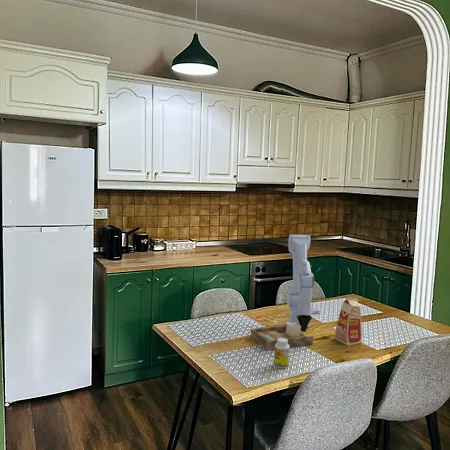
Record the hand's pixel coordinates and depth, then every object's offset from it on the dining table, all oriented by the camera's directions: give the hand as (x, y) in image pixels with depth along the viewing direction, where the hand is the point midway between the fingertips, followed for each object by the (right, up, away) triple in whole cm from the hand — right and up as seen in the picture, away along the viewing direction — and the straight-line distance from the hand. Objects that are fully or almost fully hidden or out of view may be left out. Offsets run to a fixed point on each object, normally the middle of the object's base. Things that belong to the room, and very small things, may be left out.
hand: (303, 331), depth 196 cm
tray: (-10, -3, -4) cm, 11 cm away
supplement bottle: (-14, -6, -30) cm, 33 cm away
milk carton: (+20, -4, -1) cm, 20 cm away
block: (-5, -1, -2) cm, 5 cm away
